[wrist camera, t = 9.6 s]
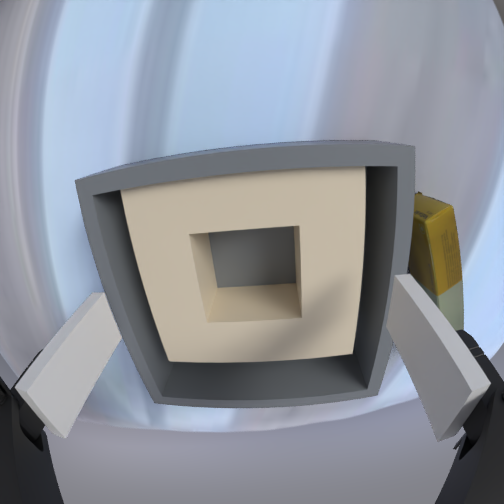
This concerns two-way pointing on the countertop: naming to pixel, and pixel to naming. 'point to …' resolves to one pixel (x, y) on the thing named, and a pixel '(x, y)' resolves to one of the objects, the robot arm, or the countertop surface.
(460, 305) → the medication box
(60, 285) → the countertop surface
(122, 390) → the countertop surface
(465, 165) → the countertop surface
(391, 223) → the box
